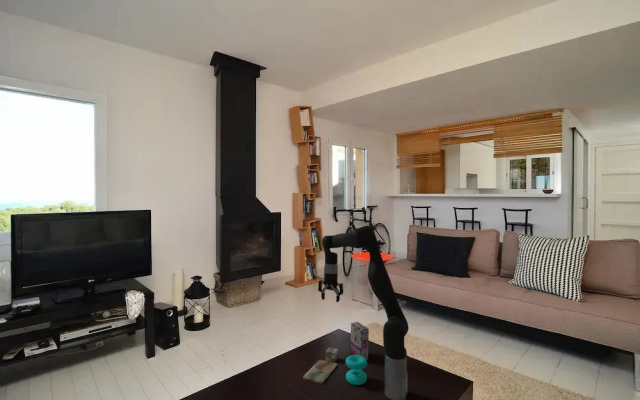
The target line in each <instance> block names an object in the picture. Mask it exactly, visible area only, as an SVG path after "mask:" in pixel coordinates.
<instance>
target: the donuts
mask: <svg viewBox="0 0 640 400" xmlns="http://www.w3.org/2000/svg"><path fill="white" fill-rule="evenodd" d="M345 364H346V366H347V367H348V368H349V369H350V370H348V371H347V372H346V374H345V380H346V381H347V383H349V384H351V385H354V386H359V385H360V386H361V385H364V384H365V383H366V382H367V380H368V375H367V374H366V372H364V371H363V370H364V369H365V368H366V367H367V365H368V361H367V360H366V359H365V358H364V357H362V356H360V355H353V354H352V355H349V356H348V357H346V359H345Z"/></svg>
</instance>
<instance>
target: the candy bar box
mask: <svg viewBox="0 0 640 400" xmlns="http://www.w3.org/2000/svg"><path fill="white" fill-rule="evenodd" d="M369 332H370V331H369V328H368V327H367V326H365V325H363V324H362V323H360V322H358V321H355V322H351V323H350V353H351V354H352V355H360V356H362V357H364V358H365V359H366V360H369V336H370V335H369Z"/></svg>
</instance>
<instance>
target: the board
mask: <svg viewBox="0 0 640 400" xmlns="http://www.w3.org/2000/svg"><path fill="white" fill-rule="evenodd" d="M337 366H338V363H336V362H330V361H326V360H323V359H318V360H317V361H316V362H315V363H314V364H313V366H312V367H311V368H310V369H309V370H308V371H307V372H306V373H305V374H304V375H303V376H302V379H303V380H305V381H310V382H313V383H317V384H321V385H323V384H324V383H325V381H326V380H327V379H328V378H329V376H330V375H331V374H332V373H333V371H334V370H335V369H336V368H337Z"/></svg>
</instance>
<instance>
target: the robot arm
mask: <svg viewBox="0 0 640 400" xmlns="http://www.w3.org/2000/svg"><path fill="white" fill-rule="evenodd" d="M321 244H322V249H323V252H324V268H323V280H322V279H320V280H319V281H318V286H317V292H320V293H321V297H320V298H321V300H322V301H324V300H325V299H326V296H325V295H326V290H328V291H333V292H334V293H335V294H336V297H335V298H336V299H335V301H336V303H339V302H340V300H341V296H342V295H343V294H344V283H343V282H341V283H339V282H338V278H339V267H338V262H339V260H338V253H337V252H334V251H331V249H339V248H346V247H348V248H353V249H363V248H366V247H367V250H368V252H369V264H368V269H367V279H368V282H369V284H370V288H371V291H372V292H373V294H374V295H375V297H376V298H377V299H378V301H379V302H380V303H381V305H382V306H383V309H384V312H385V314H386V317H387V321H385V323H384V324H383V327H382V328H383V329H382V339H383V343H382V344H383V350H384V395H385V396H386V397H387V398H388V399H390V400H406V399H407V396H408V379H409V378H408V371H407V367H408V366H407V361H408V360H407V359H408V357H407V356H408V354H407V349H406V347H405V337H406V335H408V332H409V328H410V327H409V322H408V320H407V318H406V316H405V314H404V312H403V310H402V308H401V306H400V304H399V300H398V298H397V295H396V291H395V290H394V289H395V288H394V286H393V285H392V280H391V278H390V275H389V272H388V270H387V268H386V266H385V263H384V260H383V256H382V253H381V250H380V247H379V243H378V239H377V236H376V234H375V231H374V229H373V227H372V226H370V225H364V226H360V227H357V228H353V230H351V231H349V232H348V233H344V232H343V233H337V234H335V235H324V236H323V237H322V240H321ZM323 285H324V287H323Z"/></svg>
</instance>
